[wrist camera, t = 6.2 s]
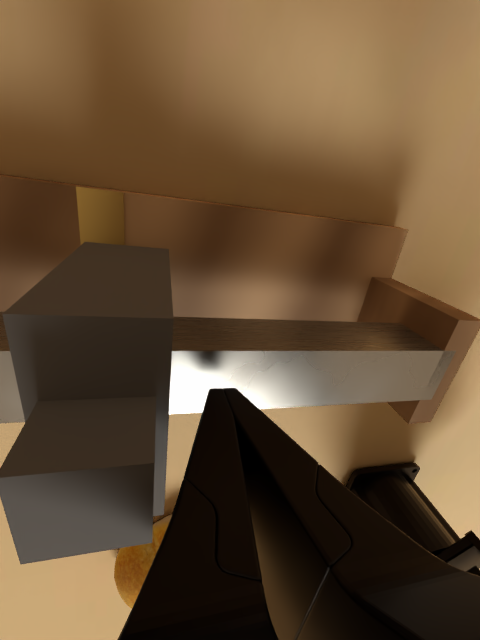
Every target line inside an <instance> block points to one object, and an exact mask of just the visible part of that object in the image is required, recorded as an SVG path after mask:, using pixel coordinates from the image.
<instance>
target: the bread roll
mask: <svg viewBox="0 0 480 640" xmlns="http://www.w3.org/2000/svg"><path fill="white" fill-rule="evenodd" d="M171 517H172V514H171V515H168V516H166V517H164V518H163V519H161V520H159V521H158V522H156V523H154V524H153V536H152V543H148V544H142V545H136V546H130V547H124V548H120V549H119V552H118V555H117V558H116V562H115V571H114V578H115V582H116V586H117V589H118V592H119V594H120V596H121V598H122V599H123V600H124V602H125V603H126V604H127V605H128V606H129V607H130V608H133V606H134V603H135V601H136V599H137V596H138V594H139V592H140V590H141V587H142V585H143V583H144V580H145V578H146V576H147V574H148V571H149V569H150V567H151V564H152V562H153V560H154V558H155V555H156V553H157V551H158V548H159V546H160V544H161V542H162V539H163V537H164V534H165V532H166V529H167V527H168V524H169V522H170V519H171Z"/></svg>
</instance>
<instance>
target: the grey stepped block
mask: <svg viewBox="0 0 480 640" xmlns="http://www.w3.org/2000/svg"><path fill="white" fill-rule="evenodd" d="M2 315H3V320H4V325H5V329H6V334H7V339H8V343H9V348H10V353H11V357H12V362H13V367H14V372H15V376H16V381H17V386H18V390H19V395H20V400H21V404H22V409H23V414H24V419H25V425H24V427H23V428H22V430H21V432H20V434H19V436H18V437H17V439H16V441H15V443H14V445H13V446H12V448H11V450H10V452H9V454H8V455H7V457H6V459H5V461H4V463H3V465H2V466H1V468H0V497H1V500H2V504H3V507H4V511H5V514H6V517H7V521H8V524H9V527H10V531H11V534H12V537H13V541H14V544H15V547H16V551H17V554H18V557H19V561H20V564H26V563H32V562H38V561H44V560H51V559H57V558H63V557H69V556H75V555H81V554H87V553H93V552H99V551H106V550H112V549H118V548H124V547H130V546H136V545H142V544H148V543H152V536H153V516H158V515H164V502H165V482H166V462H167V441H168V421H169V401H170V380H171V360H172V340H173V319H174V318H173V304H172V289H171V275H170V260H169V249H163V248H151V247H140V246H128V245H117V244H105V243H94V242H84V243H83V244H82V245H81V246H79V247H78V248H77V249H76V250H75V251H74V252H73V253H71V254H70V255H69V256H68V257H67V258H66V259H65V260H63V261H62V262H61V263H60V264H59V265H58V266H57V267H55V268H54V269H53V270H52V271H51V272H50V273H49V274H47V275H46V276H45V277H44V278H43V279H42V280H40V281H39V282H38V283H37V284H36V285H35V286H34V287H32V288H31V289H30V290H29V291H28V292H27V293H26V294H24V295H23V296H22V297H21V298H20V299H19V300H18V301H16V302H15V303H14V304H13V305H12V306H11V307H10V308H8V309H7V310H6V311H5V312H4V313H3V314H2Z"/></svg>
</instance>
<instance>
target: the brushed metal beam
mask: <svg viewBox="0 0 480 640" xmlns="http://www.w3.org/2000/svg"><path fill="white" fill-rule="evenodd" d="M3 313H4V312H0V423H16V422H25V419H24V414H23V409H22V404H21V400H20V395H19V390H18V386H17V381H16V376H15V372H14V367H13V362H12V357H11V353H10V348H9V343H8V339H7V334H6V329H5V325H4V320H3V315H2V314H3ZM173 318H174V319H173V340H172V360H171V380H170V401H169V414H179V413H197V412H203V408H204V405H205V401H206V398H207V394H208V391H209V389H211V388H222V389H223V388H236V389H237V390H239V391H240V392H241V393H242V394H243V395H244V396H245V397H246V398H247V399H249V400H250V401H251V402H252V403H253V404H254V405H255V406H256V407H257V408H258V409H270V408H288V407H306V406H324V405H342V404H360V403H378V402H396V401H414V400H431V399H432V397H433V395H434V394H435V392H436V390H437V388H438V386H439V384H440V382H441V380H442V378H443V376H444V374H445V372H446V370H447V368H448V366H449V364H450V362H451V360H452V358H453V356H454V354H455V352H456V351H451V352H450V351H447V352H446V351H444V350H442V349H441V348H439V347H437V346H436V345H434V344H433V343H431V342H430V341H428V340H426V339H425V338H423V337H422V336H420V335H418V334H417V333H415V332H414V331H412V330H411V329H409V328H407V327H406V326H404V325H403V324H401V323H379V322H344V321H310V320H275V319H241V318H206V317H173ZM444 352H445V353H444ZM448 352H449V353H448ZM453 352H454V353H453ZM447 353H448V355H447ZM449 355H451V356H449ZM443 356H444V357H443ZM447 356H448V357H447ZM449 357H450V358H449ZM440 358H441V359H440ZM442 362H443V363H442ZM437 367H438V368H437Z"/></svg>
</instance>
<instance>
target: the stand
mask: <svg viewBox="0 0 480 640" xmlns="http://www.w3.org/2000/svg"><path fill="white" fill-rule="evenodd" d="M407 233H408V230H407V229H403V228H399V227H394V226H386V225H379V224H371V223H364V222H356V221H349V220H341V219H333V218H326V217H318V216H311V215H303V214H296V213H288V212H280V211H273V210H265V209H258V208H250V207H242V206H235V205H227V204H220V203H212V202H205V201H197V200H189V199H182V198H174V197H167V196H159V195H152V194H144V193H136V192H129V191H121V190H114V189H106V188H99V187H91V186H83V185H76V184H68V183H61V182H53V181H46V180H38V179H30V178H23V177H15V176H8V175H0V312H5V311H6V310H7V309H8V308H10V307H11V306H12V305H13V304H14V303H15V302H16V301H18V300H19V299H20V298H21V297H22V296H23V295H24V294H26V293H27V292H28V291H29V290H30V289H31V288H32V287H34V286H35V285H36V284H37V283H38V282H39V281H40V280H42V279H43V278H44V277H45V276H46V275H47V274H49V273H50V272H51V271H52V270H53V269H54V268H55V267H57V266H58V265H59V264H60V263H61V262H62V261H63V260H65V259H66V258H67V257H68V256H69V255H70V254H71V253H73V252H74V251H75V250H76V249H77V248H78V247H79V246H81V245H82V244H83V243H84V242H94V243H105V244H117V245H128V246H140V247H151V248H163V249H169V260H170V275H171V289H172V304H173V317H206V318H241V319H275V320H310V321H344V322H379V323H401V324H403V325H404V326H406V327H407V328H409V329H411V330H412V331H414V332H415V333H417V334H418V335H420V336H422V337H423V338H425V339H426V340H428V341H430V342H431V343H433V344H434V345H436V346H437V347H439V348H441V349H442V350H444V351H446V352H447V351H450V352H451V351H456V352H455V354H454V356H453V358H452V360H451V362H450V364H449V366H448V368H447V370H446V372H445V374H444V376H443V378H442V380H441V382H440V384H439V386H438V388H437V390H436V392H435V394H434V395H433V397H432V399H431V400H414V401H396V402H388V403H389V404H390V405H391V406H392V407H393V409H394V410H395V411H396V412H397V413H398V414H399V415H400V416H401V417H402V418H403V419H404V420H405V421H406V422H407V423H408V424H412V423H425V422H431V420H432V418H433V416H434V414H435V412H436V410H437V409H438V407H439V405H440V403H441V401H442V399H443V397H444V395H445V393H446V392H447V390H448V388H449V386H450V384H451V382H452V380H453V378H454V376H455V374H456V373H457V371H458V369H459V367H460V365H461V363H462V361H463V359H464V357H465V356H466V354H467V352H468V350H469V348H470V346H471V344H472V342H473V340H474V338H475V337H476V335H477V333H478V331H479V329H480V319H478V318H476V317H474V316H472V315H469V314H467V313H465V312H463V311H461V310H459V309H456V308H454V307H452V306H450V305H448V304H446V303H443V302H441V301H439V300H437V299H435V298H433V297H431V296H428V295H426V294H424V293H422V292H420V291H418V290H415V289H413V288H411V287H409V286H407V285H405V284H402V283H400V282H398V281H396V280H394V279H392V278H391V277H392V274H393V271H394V269H395V266H396V263H397V260H398V258H399V255H400V252H401V249H402V246H403V244H404V241H405V238H406V235H407ZM444 353H445V352H444ZM448 353H449V352H448ZM448 353H447V355H448ZM453 353H454V352H453ZM449 356H451V355H449ZM443 357H444V356H443ZM447 357H448V356H447ZM449 358H450V357H449ZM440 359H441V358H440ZM442 363H443V362H442ZM437 368H438V367H437Z"/></svg>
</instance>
